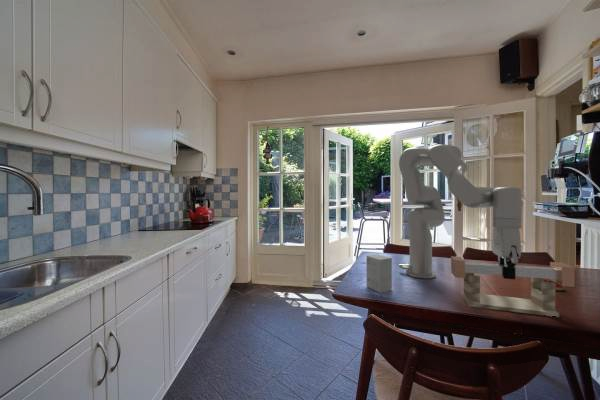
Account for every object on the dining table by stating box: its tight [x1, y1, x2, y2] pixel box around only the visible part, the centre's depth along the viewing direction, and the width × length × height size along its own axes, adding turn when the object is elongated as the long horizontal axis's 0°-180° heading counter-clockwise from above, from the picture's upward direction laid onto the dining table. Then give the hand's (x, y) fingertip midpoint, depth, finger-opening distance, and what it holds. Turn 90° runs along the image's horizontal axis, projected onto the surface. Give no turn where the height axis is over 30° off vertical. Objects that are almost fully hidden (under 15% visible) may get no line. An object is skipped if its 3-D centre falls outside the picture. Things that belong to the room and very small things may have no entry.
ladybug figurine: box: [544, 279, 566, 291], centre depth 101 cm, size 7×10×4 cm
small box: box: [366, 253, 393, 294], centre depth 101 cm, size 8×6×13 cm
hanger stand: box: [461, 273, 560, 318], centre depth 85 cm, size 24×10×10 cm, turn 71°
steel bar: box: [450, 255, 576, 288], centre depth 85 cm, size 32×6×6 cm, turn 71°
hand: (506, 276), depth 85 cm, fingers closed on steel bar, 3 cm apart
